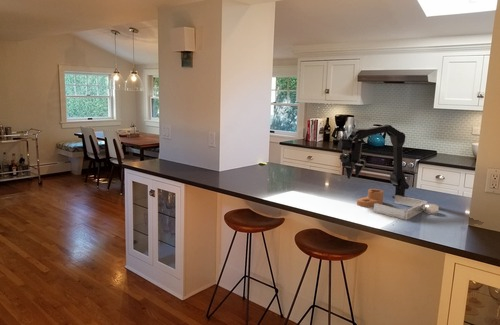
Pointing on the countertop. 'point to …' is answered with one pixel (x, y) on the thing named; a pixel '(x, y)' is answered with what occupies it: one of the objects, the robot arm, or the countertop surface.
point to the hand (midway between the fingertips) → (352, 177)
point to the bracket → (371, 198)
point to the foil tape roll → (431, 209)
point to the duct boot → (415, 209)
